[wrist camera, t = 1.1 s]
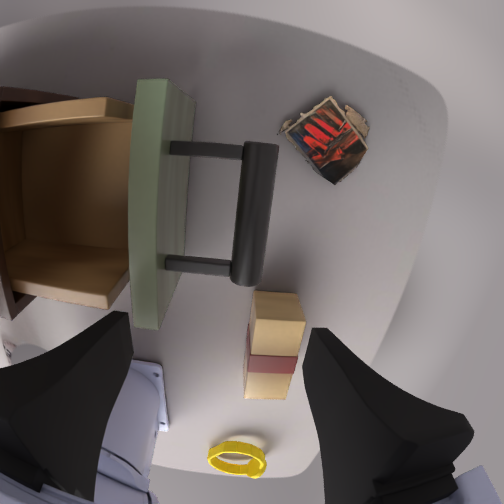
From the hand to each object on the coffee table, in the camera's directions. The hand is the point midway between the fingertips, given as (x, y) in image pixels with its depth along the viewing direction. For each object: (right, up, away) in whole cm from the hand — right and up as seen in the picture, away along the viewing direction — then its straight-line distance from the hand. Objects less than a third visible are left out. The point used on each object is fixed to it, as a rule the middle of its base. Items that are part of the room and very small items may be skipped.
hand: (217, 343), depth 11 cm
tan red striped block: (+2, -2, +10) cm, 11 cm away
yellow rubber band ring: (-3, -17, +15) cm, 22 cm away
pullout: (-6, +8, +5) cm, 11 cm away
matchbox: (+6, +10, +6) cm, 13 cm away
